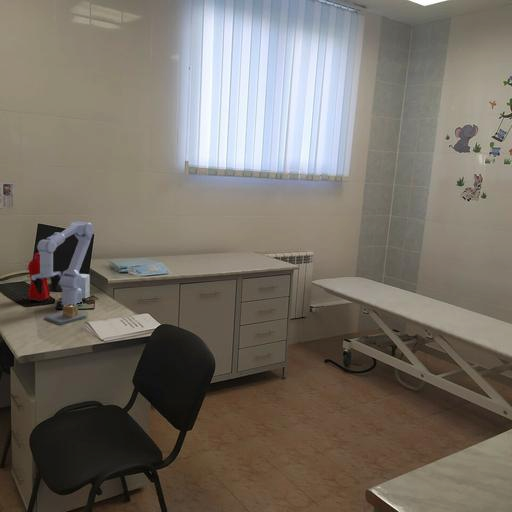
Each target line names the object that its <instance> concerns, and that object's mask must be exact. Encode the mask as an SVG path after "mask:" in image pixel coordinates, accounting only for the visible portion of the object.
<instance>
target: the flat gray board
mask: <svg viewBox="0 0 512 512" xmlns="http://www.w3.org/2000/svg"><path fill="white" fill-rule="evenodd" d="M86 318H87V315H86V314H83V313H80V312H78V315H77V316H75V317H73V318H71V317H63V311H62V312H61V311H60V312H58V313H54V314H52V313H51V314H49V315H44V320H47V321H49V322H52V323H54V324H57V325H64V324H69V323H72V322H76V321H80V320H84V319H86Z"/></svg>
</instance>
